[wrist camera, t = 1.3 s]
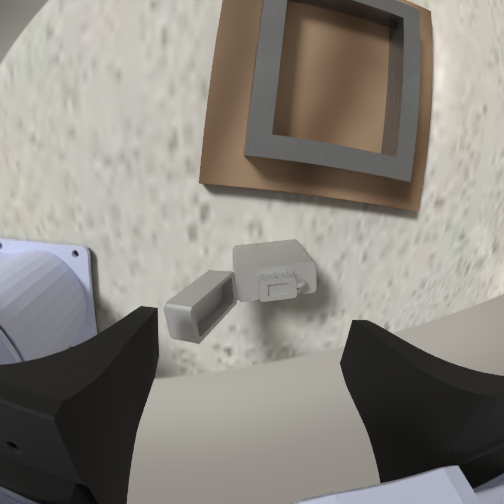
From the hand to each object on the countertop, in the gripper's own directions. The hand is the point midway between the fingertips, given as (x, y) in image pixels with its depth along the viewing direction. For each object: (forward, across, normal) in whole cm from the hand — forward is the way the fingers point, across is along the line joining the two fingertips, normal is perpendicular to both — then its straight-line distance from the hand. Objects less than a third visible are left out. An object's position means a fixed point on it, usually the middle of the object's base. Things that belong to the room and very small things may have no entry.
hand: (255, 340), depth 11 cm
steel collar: (+8, -4, -12) cm, 15 cm away
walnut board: (+9, -4, -12) cm, 16 cm away
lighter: (+10, 0, 0) cm, 10 cm away
